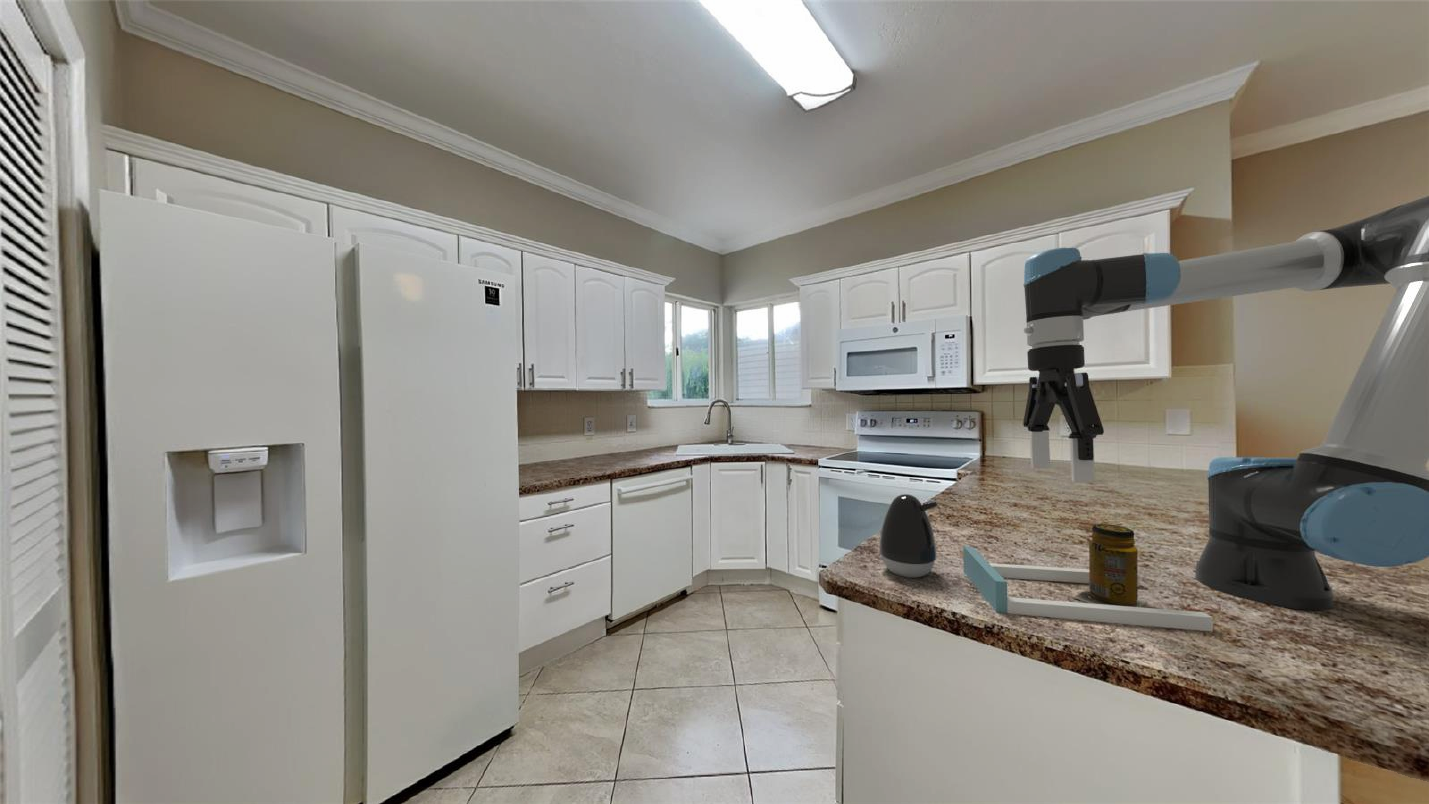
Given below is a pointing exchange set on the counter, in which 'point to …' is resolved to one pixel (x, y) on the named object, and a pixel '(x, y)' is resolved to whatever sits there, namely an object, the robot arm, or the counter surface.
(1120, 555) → the condiment
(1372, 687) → the counter surface
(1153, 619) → the guide
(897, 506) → the pump dispenser
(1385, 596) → the counter surface
